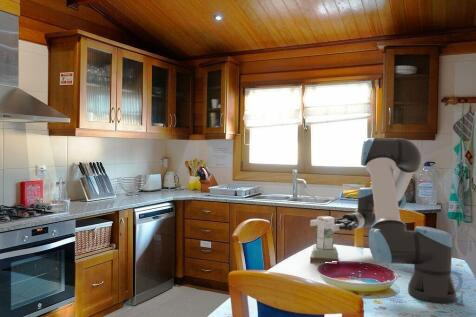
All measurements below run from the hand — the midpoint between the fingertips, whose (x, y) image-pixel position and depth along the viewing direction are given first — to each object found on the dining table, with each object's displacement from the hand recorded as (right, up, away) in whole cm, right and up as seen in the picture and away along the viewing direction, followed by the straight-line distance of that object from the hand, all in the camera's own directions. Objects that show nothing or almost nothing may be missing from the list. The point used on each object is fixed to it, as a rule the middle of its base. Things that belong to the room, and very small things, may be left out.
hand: (321, 225), depth 181 cm
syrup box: (+2, -11, +2) cm, 11 cm away
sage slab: (+2, -14, +1) cm, 14 cm away
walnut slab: (+1, -17, +2) cm, 17 cm away
